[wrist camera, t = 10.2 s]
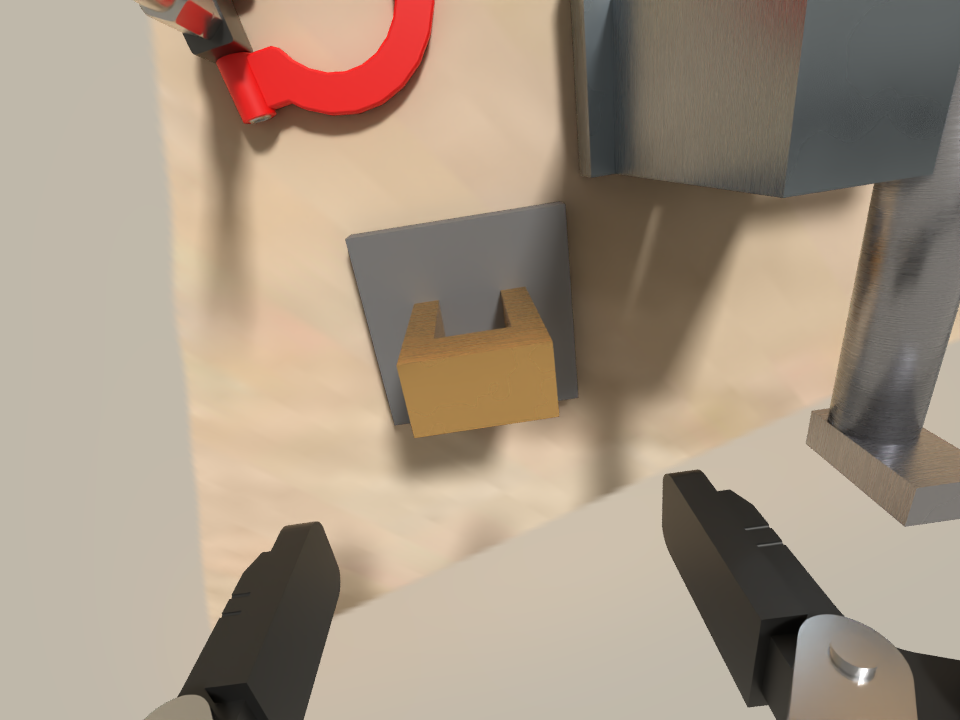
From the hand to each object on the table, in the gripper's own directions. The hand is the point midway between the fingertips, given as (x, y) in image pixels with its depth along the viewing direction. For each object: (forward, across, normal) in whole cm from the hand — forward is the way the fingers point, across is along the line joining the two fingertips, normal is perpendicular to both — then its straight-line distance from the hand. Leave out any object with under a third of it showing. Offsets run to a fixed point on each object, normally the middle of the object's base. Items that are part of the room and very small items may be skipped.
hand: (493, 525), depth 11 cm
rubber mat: (+14, 0, 0) cm, 14 cm away
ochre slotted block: (+13, 0, 0) cm, 13 cm away
